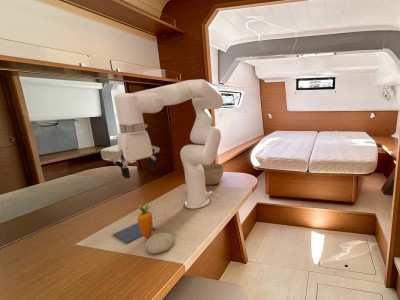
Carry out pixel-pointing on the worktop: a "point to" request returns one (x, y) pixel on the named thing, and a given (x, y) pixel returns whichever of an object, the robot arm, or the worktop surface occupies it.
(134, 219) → the worktop surface
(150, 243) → the sea urchin shell
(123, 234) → the napkin
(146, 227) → the carrot
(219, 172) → the planter bowl
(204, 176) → the robot arm
